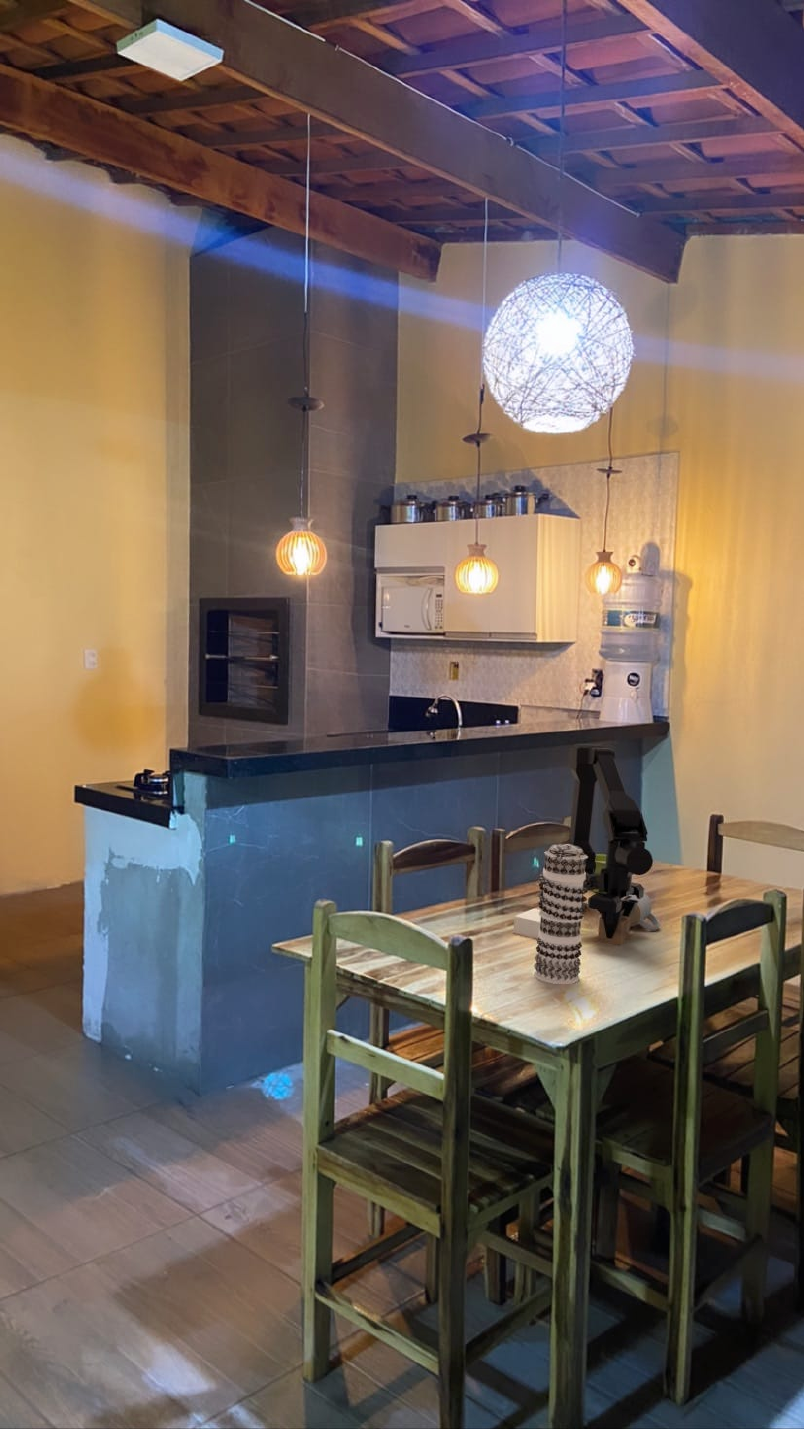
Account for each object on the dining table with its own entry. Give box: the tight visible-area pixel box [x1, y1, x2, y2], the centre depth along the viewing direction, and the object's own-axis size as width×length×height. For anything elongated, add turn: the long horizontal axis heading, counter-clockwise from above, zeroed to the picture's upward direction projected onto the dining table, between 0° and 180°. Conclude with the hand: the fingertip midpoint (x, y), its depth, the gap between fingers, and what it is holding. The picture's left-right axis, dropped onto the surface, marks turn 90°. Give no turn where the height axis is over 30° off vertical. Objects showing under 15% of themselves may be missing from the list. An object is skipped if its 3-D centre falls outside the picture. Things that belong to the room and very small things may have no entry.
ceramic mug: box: [629, 892, 661, 932], centre depth 231 cm, size 11×8×8 cm
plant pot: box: [591, 854, 606, 894], centre depth 262 cm, size 9×9×9 cm
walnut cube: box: [597, 916, 630, 946], centre depth 219 cm, size 5×5×5 cm
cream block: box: [513, 908, 541, 939], centre depth 221 cm, size 9×9×4 cm
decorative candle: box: [533, 843, 589, 986], centre depth 192 cm, size 9×9×25 cm
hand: (613, 935), depth 219 cm, fingers closed on walnut cube, 5 cm apart
